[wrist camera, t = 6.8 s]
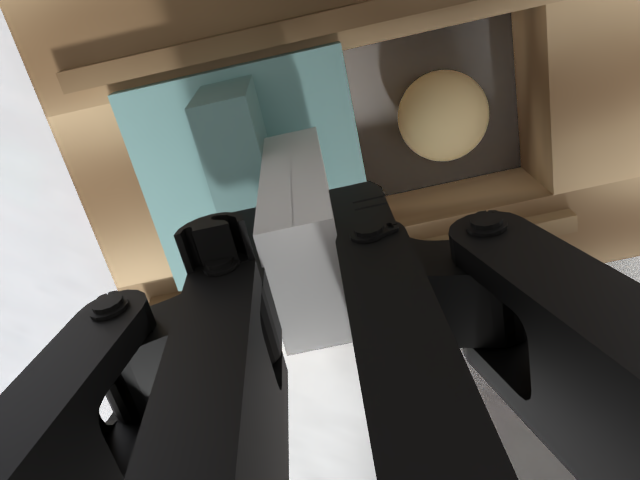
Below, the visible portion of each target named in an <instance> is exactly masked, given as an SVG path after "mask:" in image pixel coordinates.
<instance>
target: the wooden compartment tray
mask: <svg viewBox="0 0 640 480" xmlns="http://www.w3.org/2000/svg"><path fill="white" fill-rule="evenodd" d="M0 8H1V10H2V12H3V15H4V17H5V20H6V22H7V24H8V27H9V29H10V32H11V34H12V37H13V39H14V41H15V44H16V46H17V49H18V51H19V53H20V56H21V58H22V61H23V63H24V65H25V68H26V70H27V73H28V75H29V78H30V80H31V82H32V85H33V87H34V90H35V92H36V94H37V97H38V99H39V102H40V104H41V106H42V109H43V111H44V114H45V116H46V118H47V121H48V123H49V126H50V128H51V131H52V133H53V135H54V138H55V140H56V143H57V145H58V147H59V150H60V152H61V155H62V157H63V159H64V162H65V164H66V167H67V169H68V171H69V174H70V176H71V179H72V181H73V184H74V186H75V188H76V191H77V193H78V196H79V198H80V200H81V203H82V205H83V208H84V210H85V212H86V215H87V217H88V220H89V222H90V225H91V227H92V229H93V232H94V234H95V237H96V239H97V241H98V244H99V246H100V249H101V251H102V253H103V256H104V258H105V261H106V263H107V265H108V268H109V270H110V273H111V275H112V278H113V280H114V282H115V285H116V287H117V290H118V291H122V290H127V289H129V290H139V291H142V292H144V293H145V295H146V297H147V300H148V302H149V305H150V306H152V305H154V304H157V303H160V302H162V301H165V300H167V299H170V298H172V297H175V296H177V295H179V294H181V292H182V291H178V289H177V286H176V283H175V280H174V278H173V275H172V272H171V269H170V267H169V264H168V261H167V258H166V256H165V253H164V250H163V247H162V245H161V242H160V239H159V236H158V234H157V231H156V228H155V225H154V223H153V220H152V217H151V214H150V212H149V209H148V206H147V203H146V201H145V198H144V195H143V192H142V190H141V187H140V184H139V181H138V179H137V176H136V173H135V170H134V168H133V165H132V162H131V159H130V157H129V154H128V151H127V148H126V146H125V143H124V140H123V137H122V135H121V132H120V129H119V127H118V124H117V121H116V118H115V116H114V113H113V110H112V107H111V105H110V102H109V99H108V95H109V94H111V93H112V92H116V91H121V90H125V89H130V88H134V87H138V86H143V85H147V84H152V83H156V82H160V81H165V80H169V79H174V78H178V77H182V76H187V75H191V74H196V73H200V72H204V71H209V70H213V69H218V68H222V67H226V66H231V65H235V64H240V63H244V62H248V61H253V60H257V59H262V58H266V57H270V56H275V55H279V54H284V53H288V52H292V51H297V50H301V49H306V48H310V47H314V46H319V45H323V44H328V43H332V42H336V41H340V42H341V46H342V51H343V50H348V49H352V48H356V47H361V46H365V45H370V44H374V43H378V42H383V41H387V40H392V39H396V38H401V37H405V36H409V35H414V34H418V33H423V32H427V31H431V30H436V29H440V28H445V27H449V26H454V25H458V24H462V23H467V22H471V21H476V20H480V19H484V18H489V17H493V16H498V15H502V14H507V13H511V21H512V36H513V52H514V67H515V82H516V97H517V113H518V128H519V143H520V159H521V167H518V168H514V169H509V170H505V171H500V172H495V173H491V174H486V175H481V176H477V177H472V178H468V179H463V180H458V181H454V182H449V183H444V184H440V185H435V186H430V187H426V188H421V189H417V190H412V191H407V192H403V193H398V194H393V195H389V196H385V197H386V200H387V202H388V204H389V207H390V209H391V211H392V214H393V216H394V218H395V221H397V222H400V223H401V224H402V225H403V226H404V227H405V228H406V230H407V233H408V235H409V237H411V238H414V239H419V240H449V234H448V232H449V228H450V226H451V225H452V224H453V223H454V222H455V221H456V220H458V219H460V218H462V217H465V216H467V215H470V214H474V213H476V212H478V211H485V210H486V212H487V211H488V210H497V211H501V212H510V213H513V214H516V215H518V216H521V217H523V218H525V219H526V220H528V221H530V222H532V223H533V224H535V225H537V226H539V227H541V228H542V229H544V230H546V231H548V232H549V233H551V234H553V235H555V236H557V237H558V238H560V239H562V240H564V241H566V242H567V243H569V244H571V245H573V246H574V247H576V248H578V249H580V250H582V251H583V252H585V253H587V254H589V255H590V256H592V257H594V258H596V259H598V260H599V261H601V262H603V263H607V262H612V261H617V260H622V259H626V258H631V257H636V256H640V0H0Z"/></svg>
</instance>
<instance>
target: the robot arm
mask: <svg viewBox="0 0 640 480" xmlns="http://www.w3.org/2000/svg"><path fill="white" fill-rule="evenodd" d="M448 234H449V240H419V239H414V238H411V237H409V235H408V233H407V230H406V228H405V227H404V226H403V225H402V224H401V223H400V222H397V221H395V218H394V216H393V214H392V211H391V209H390V207H389V204H388V202H387V200H386V197H385V195H384V193H383V190H382V188H381V186H379V185H376V184H374V183H372V182H370V181H367V182H362V183H358V184H353V185H348V186H344V187H339V188H335V189H330V190H329V186H328V181H327V176H326V172H325V167H324V162H323V158H322V153H321V149H320V144H319V139H318V135H317V130H316V127H312V128H308V129H303V130H299V131H294V132H290V133H285V134H281V135H276V136H272V137H267V138H264V144H263V153H262V161H261V170H260V178H259V187H258V195H257V204H256V207H254V208H250V209H245V210H240V211H236V212H221V213H214V214H210V215H207V216H203V217H200V218H197V219H195V220H193V221H191V222H188V223H187V224H185V225H184V226H182V227H181V228H179V229H178V230H177V231H176V233H175V234H174V238H175V241H176V244H177V247H178V250H179V252H180V255H181V258H182V261H183V264H184V267H185V270H186V272H187V276H186V279H185V283H184V286H183V289H182V292H181V294H179V295H177V296H175V297H172V298H170V299H167V300H165V301H162V302H160V303H157V304H154V305H152V306H150V305H149V302H148V300H147V297H146V295H145V293H144V292H142V291H139V290H129V289H127V290H122V291H112V292H109V293H108V294H104V295H101V296H99V297H98V298H97V299H96V300H94V301H92V302H91V303H89V304H87V305H86V306H85V307H84V308H82V309H81V310H80V311H79V312H78V313H77V314H76V315H75V316H74V317H73V318H72V319H71V320H70V321H69V322H68V323H67V324H66V325H65V326H64V328H63V329H62V330H61V331H60V332H59V333H58V334H57V335H56V336H55V337H54V338H53V339H52V340H51V341H50V342H49V344H48V345H47V346H46V347H45V348H44V349H43V350H42V351H41V352H40V353H39V354H38V355H37V356H36V357H35V358H34V359H33V361H32V362H31V363H30V364H29V365H28V366H27V367H26V368H25V369H24V370H23V371H22V372H21V373H20V374H19V375H18V376H17V378H16V379H15V380H14V381H13V382H12V383H11V384H10V385H9V386H8V387H7V388H6V389H5V390H4V391H3V392H2V393H1V395H0V480H289V444H288V370H287V367H286V363H285V360H284V356H283V353H282V340H283V343H284V347H285V350H286V353H287V356H289V355H294V354H298V353H303V352H308V351H313V350H318V349H323V348H328V347H332V346H337V345H342V344H347V343H352V342H353V346H354V352H355V358H356V363H357V369H358V375H359V380H360V386H361V392H362V397H363V403H364V409H365V415H366V420H367V426H368V432H369V437H370V443H371V449H372V455H373V460H374V466H375V472H376V477H377V480H518V478H517V476H516V473H515V471H514V469H513V467H512V464H511V462H510V460H509V458H508V456H507V453H506V451H505V449H504V447H503V444H502V442H501V440H500V438H499V435H498V433H497V431H496V429H495V427H494V424H493V422H492V420H491V418H490V415H489V413H488V411H487V409H486V407H485V404H484V402H483V400H482V398H481V395H480V393H479V391H478V389H477V386H476V384H475V382H474V380H473V378H472V375H471V373H470V371H469V369H468V366H467V364H466V362H465V360H464V357H463V355H462V353H461V351H460V349H459V348H463V353H464V355H465V357H466V359H467V361H468V362H469V363H470V364H471V365H472V367H473V368H474V369H475V370H476V371H477V372H478V373H479V374H480V375H481V376H482V377H483V378H484V380H485V381H486V382H487V383H488V384H489V385H490V386H491V387H492V388H493V389H494V390H495V391H496V393H497V394H498V395H499V396H500V397H501V398H502V399H503V400H504V401H505V402H506V403H507V404H508V405H509V407H510V408H511V409H512V410H513V411H514V412H515V413H516V414H517V415H518V416H519V417H520V418H521V420H522V421H523V422H524V423H525V424H526V425H527V426H528V427H529V428H530V429H531V430H532V431H533V433H534V434H535V435H536V436H537V437H538V438H539V439H540V440H541V441H542V442H543V443H544V444H545V446H546V447H547V448H548V449H549V450H550V451H551V452H552V453H553V454H554V455H555V456H556V457H557V459H558V460H559V461H560V462H561V463H562V464H563V465H564V466H565V467H566V468H567V469H568V470H569V471H570V473H571V474H572V475H573V476H574V477H575V478H576V479H577V480H640V283H639V282H637V281H635V280H633V279H631V278H630V277H628V276H626V275H624V274H623V273H621V272H619V271H617V270H615V269H614V268H612V267H610V266H608V265H606V264H605V263H603V262H601V261H599V260H598V259H596V258H594V257H592V256H590V255H589V254H587V253H585V252H583V251H582V250H580V249H578V248H576V247H574V246H573V245H571V244H569V243H567V242H566V241H564V240H562V239H560V238H558V237H557V236H555V235H553V234H551V233H549V232H548V231H546V230H544V229H542V228H541V227H539V226H537V225H535V224H533V223H532V222H530V221H528V220H526V219H525V218H523V217H521V216H518V215H516V214H513V213H510V212H501V211H497V210H488V211H487V212H486V210H485V211H478V212H476V213H474V214H470V215H467V216H465V217H462V218H460V219H458V220H456V221H455V222H454V223H453V224H452V225H451V226H450V228H449V232H448ZM105 395H106V397H107V400H108V402H109V404H110V406H111V408H112V410H113V413H112V415H111V416H110V418H109V419H108V421H106V422H104V421H103V420H102V419H101V416H100V414H99V407H100V405H101V403H102V401H103V398H104V396H105Z"/></svg>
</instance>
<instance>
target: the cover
mask: <svg viewBox="0 0 640 480" xmlns="http://www.w3.org/2000/svg"><path fill="white" fill-rule="evenodd" d="M108 99H109V102H110V105H111V107H112V110H113V113H114V116H115V118H116V121H117V124H118V127H119V129H120V132H121V135H122V137H123V140H124V143H125V146H126V148H127V151H128V154H129V157H130V159H131V162H132V165H133V168H134V170H135V173H136V176H137V179H138V181H139V184H140V187H141V190H142V192H143V195H144V198H145V201H146V203H147V206H148V209H149V212H150V214H151V217H152V220H153V223H154V225H155V228H156V231H157V234H158V236H159V239H160V242H161V245H162V247H163V250H164V253H165V256H166V258H167V261H168V264H169V267H170V269H171V272H172V275H173V278H174V280H175V283H176V286H177V289H178V291H182V289H183V286H184V283H185V279H186V276H187V272H186V270H185V267H184V264H183V261H182V258H181V255H180V252H179V250H178V247H177V244H176V241H175V238H174V234H175V233H176V231H177V230H178V229H179V228H181V227H182V226H184V225H185V224H187V223H188V222H191V221H193V220H195V219H197V218H200V217H203V216H207V215H210V214H214V213H221V212H236V211H240V210H245V209H250V208H254V207H256V204H257V195H258V187H259V178H260V170H261V161H262V153H263V144H264V138H267V137H272V136H276V135H281V134H285V133H290V132H294V131H299V130H303V129H308V128H312V127H316V130H317V135H318V139H319V144H320V149H321V153H322V158H323V162H324V167H325V172H326V176H327V181H328V186H329V190H330V189H335V188H339V187H344V186H348V185H353V184H358V183H362V182H367V180H366V175H365V170H364V164H363V159H362V154H361V148H360V143H359V138H358V132H357V127H356V121H355V116H354V111H353V105H352V100H351V95H350V89H349V84H348V78H347V73H346V68H345V62H344V57H343V52H342V46H341V42H340V41H336V42H332V43H328V44H323V45H319V46H314V47H310V48H306V49H301V50H297V51H292V52H288V53H284V54H279V55H275V56H270V57H266V58H262V59H257V60H253V61H248V62H244V63H240V64H235V65H231V66H226V67H222V68H218V69H213V70H209V71H204V72H200V73H196V74H191V75H187V76H182V77H178V78H174V79H169V80H165V81H160V82H156V83H152V84H147V85H143V86H138V87H134V88H130V89H125V90H121V91H116V92H112V93H111V94H109V95H108Z"/></svg>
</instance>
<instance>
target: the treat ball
mask: <svg viewBox="0 0 640 480" xmlns="http://www.w3.org/2000/svg"><path fill="white" fill-rule="evenodd" d="M488 123H489V104H488V101H487V98H486V95H485V93H484V91H483V90H482V88H481V87H480V86H479V84H478V83H477V82H476V81H475V80H473V79H472V78H471V77H469V76H468V75H466V74H464V73H461V72H458V71H455V70H437V71H432V72H429V73H427V74H425V75H423V76H421V77H419V78H418V79H417V80H415V81H414V82H413V83H412V84H411V85H410V86H409V87H408V89H407V90H406V91H405V93H404V95H403V97H402V99H401V101H400V105H399V109H398V126H399V130H400V133H401V135H402V138H403V139H404V141H405V143H406V144H407V145H408V146H409V147H410V148H411V150H413V151H414V152H415V153H416V154H418V155H420V156H421V157H424V158H426V159H429V160H433V161H450V160H454V159H458V158H460V157H462V156H464V155H466V154H468V153H469V152H470V151H472V150H473V149H474V148H475V147H476V146H477V145H478V144H479V143H480V141H481V140H482V138H483V136H484V134H485V132H486V130H487V127H488Z"/></svg>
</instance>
